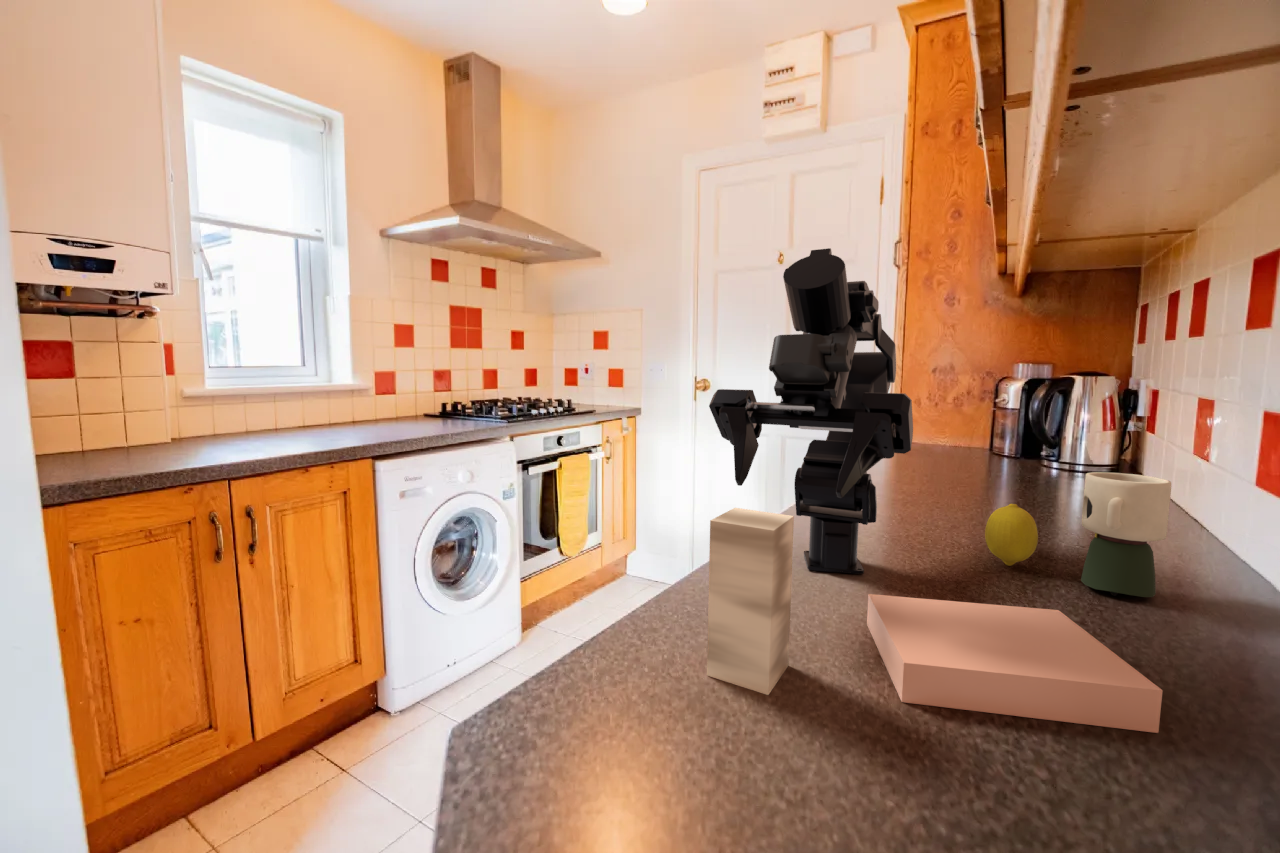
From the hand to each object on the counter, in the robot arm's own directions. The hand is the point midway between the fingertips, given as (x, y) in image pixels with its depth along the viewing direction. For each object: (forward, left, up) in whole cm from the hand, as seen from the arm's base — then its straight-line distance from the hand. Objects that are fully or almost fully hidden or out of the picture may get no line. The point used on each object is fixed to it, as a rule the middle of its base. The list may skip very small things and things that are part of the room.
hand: (786, 488), depth 50 cm
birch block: (+8, -3, -13) cm, 16 cm away
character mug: (-18, +37, -14) cm, 44 cm away
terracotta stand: (+3, +16, -13) cm, 21 cm away
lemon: (-25, +29, -14) cm, 41 cm away
